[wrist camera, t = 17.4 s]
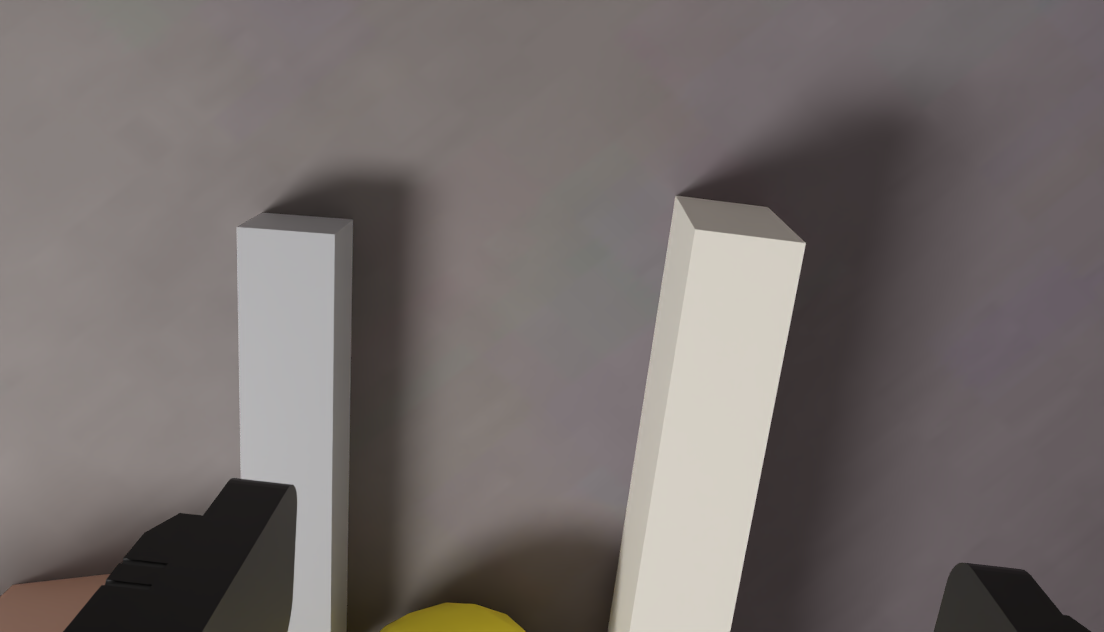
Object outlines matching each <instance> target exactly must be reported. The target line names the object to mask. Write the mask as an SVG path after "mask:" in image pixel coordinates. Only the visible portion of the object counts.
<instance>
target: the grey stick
mask: <svg viewBox="0 0 1104 632" xmlns="http://www.w3.org/2000/svg"><path fill="white" fill-rule="evenodd" d="M352 258H353V219H341V218H328V217H314V216H301V215H287V214H274V213H260V214H259V215H257V216H255V217H253V218H252V219H250V220H248V221H246V222H245V223H243V224H241V225H239V226H238V227H237V279H238V339H239V400H240V460H241V479H247V480H256V481H265V482H274V483H282V484H291V485H294V486H295V488H296V492H297V521H296V542H295V563H294V584H293V602H292V610H291V617H290V623H289V627H288V632H347V577H348V513H349V449H350V386H351V322H352Z"/></svg>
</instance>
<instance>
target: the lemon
mask: <svg viewBox="0 0 1104 632" xmlns="http://www.w3.org/2000/svg"><path fill="white" fill-rule="evenodd" d="M380 632H526V631H525V630H524V629H523V628H521V627H520V626H519V625H518V624H517V623H516V622H515V621H513V620H512V619H511V618H510V617H509V616H508V615H507V614H504V613H501V612H498V611H495V610H492V609H489V608H486V607H483V606H480V605H477V604H465V603H442V604H439V605H435V606H432V607H428V608H425V609H422V610H418V611H415V612H411V613H409V614H407V615H405V616H403V617H401V618H399V619H398V620H396V621H394V622H392V623H390V624H388V625H386V626H385V627H384V628H383V629H382V630H381V631H380Z"/></svg>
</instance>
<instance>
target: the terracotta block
mask: <svg viewBox="0 0 1104 632" xmlns="http://www.w3.org/2000/svg"><path fill="white" fill-rule="evenodd" d="M109 575H110V574H104V575H96V576H87V577H78V578H69V579H60V580H51V581H42V582H33V583H24V584H15V585H12V586H11V587H10V588H9V589H8V590H7V591H6V592H5V593H4V594H3V595H2V596H1V597H0V632H63V631H64V630H65V629H66V627H67V626H68V625H69V624H70V623H71V621H72V620H73V619H74V618H75V617H76V615H77V614H78V613H79V612H80V610H81V609H82V608H83V607H84V606H85V604H86V603H87V602H88V601H89V600H90V598H91V597H92V596H93V595H94V593H95V592H96V591H97V590H98V589H99V587H100V586H101V585H105V583H106V579H107V578H108V576H109Z"/></svg>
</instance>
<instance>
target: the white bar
mask: <svg viewBox="0 0 1104 632" xmlns="http://www.w3.org/2000/svg"><path fill="white" fill-rule="evenodd" d="M805 245H806V243H805V242H804V241H803V240H802V239H801V238H800V237H799V236H798V235H797V234H796V233H795V232H794V231H793V230H791V229H790V228H789V227H788V226H787V225H786V224H785V223H784V222H783V221H782V220H781V219H780V218H779V217H778V216H777V215H776V214H775V213H774V212H773V211H772V210H770V209H769V208H768V207H763V206H755V205H747V204H739V203H731V202H723V201H715V200H707V199H700V198H692V197H684V196H676V197H675V203H674V210H673V216H672V223H671V229H670V235H669V242H668V248H667V255H666V261H665V267H664V274H663V280H662V287H661V293H660V299H659V306H658V312H657V319H656V325H655V331H654V338H653V344H652V350H651V357H650V363H649V370H648V376H647V382H646V389H645V395H644V402H643V408H642V414H641V421H640V427H639V434H638V440H637V446H636V453H635V459H634V466H633V472H632V478H631V485H630V491H629V498H628V504H627V510H626V517H625V523H624V529H623V536H622V542H621V549H620V555H619V561H618V568H617V574H616V581H615V587H614V593H613V600H612V606H611V613H610V619H609V625H608V632H730V630H731V625H732V619H733V614H734V609H735V604H736V599H737V594H738V589H739V584H740V578H741V573H742V568H743V563H744V558H745V553H746V548H747V543H748V537H749V532H750V527H751V522H752V517H753V512H754V507H755V502H756V496H757V491H758V486H759V481H760V476H761V471H762V466H763V461H764V455H765V450H766V445H767V440H768V435H769V430H770V425H771V420H772V414H773V409H774V404H775V399H776V394H777V389H778V384H779V379H780V373H781V368H782V363H783V358H784V353H785V348H786V343H787V338H788V332H789V327H790V322H791V317H792V312H793V307H794V302H795V297H796V291H797V286H798V281H799V276H800V271H801V266H802V261H803V256H804V250H805Z"/></svg>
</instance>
